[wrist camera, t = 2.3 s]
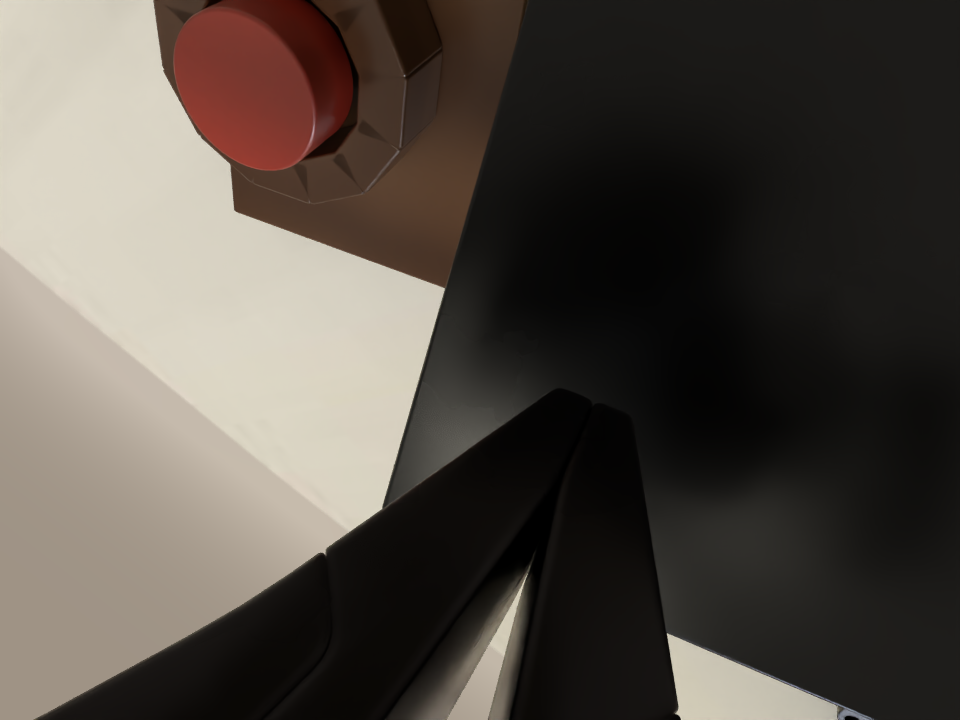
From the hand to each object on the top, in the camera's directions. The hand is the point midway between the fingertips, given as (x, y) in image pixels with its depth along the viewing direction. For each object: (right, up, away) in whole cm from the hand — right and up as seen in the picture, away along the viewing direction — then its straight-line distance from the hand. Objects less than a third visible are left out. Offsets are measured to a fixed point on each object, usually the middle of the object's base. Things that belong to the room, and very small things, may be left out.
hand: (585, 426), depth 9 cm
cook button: (-6, +8, +10) cm, 14 cm away
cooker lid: (+4, +2, +3) cm, 5 cm away
